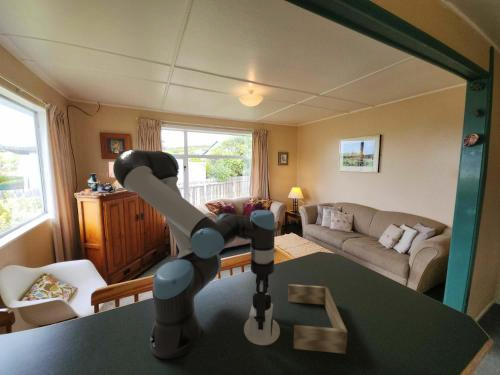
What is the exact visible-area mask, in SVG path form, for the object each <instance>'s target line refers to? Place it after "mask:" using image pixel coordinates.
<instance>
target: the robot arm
mask: <svg viewBox="0 0 500 375" xmlns="http://www.w3.org/2000/svg"><path fill="white" fill-rule="evenodd" d="M112 170H113V176H114V178H115V180H116V181H117V183H119V186H121V187H122V188H123V189H125V190H126V191H127V192H129V193H135V194H136V195H138V196H139V197H140V198H141V199H142V200H144V202H146V203H147V204H149V206H151V208H153V209H154V210H155V211H157V212H158V213H159V214H161V215H162V216H163V217H164V219H165V221H166V223H167V225H168V227H169V230H170V232H171V235H172V237H173V239H174V242H175V244H176V246H177V248H178V250H179V252H178V255H177V259H174V260H173V261H168V262H166V263H164V264H162V265H161V266H160V267H159V268H158V269H157V270H156V272H155V273H154V275H153V280H152V281H153V282H152V283H153V284H152V293H153V303H154V304H153V305H154V306H153V309H154V323H153V326H152V329H151V333H150V336H149V346H150V347H149V348H150V351H151V353H152V355H154V356H155V357H157V358H158V359H162V360H172V359H177V358H179V357H182V356H184V355H186V354H188V353H189V352H190V351H191V350H192V349H194V347H195V346H196V345H197V344H198V342H199V340H200V338H201V334H202V332H201V322H200V320H199V317H198V315H197V313H196V310H195V297H196V296H197V295H198V294H199V293H200V292H201V291H202V290H203V289H204V288H205V287H206V286H207V285H208V284H209V283H210V282H212V281H213V280H214V279H215V278H216V277H217V276H218V274H219V273H220V271H221V269H222V258H221V255H220V253H221V252H222V250H223V249H225V248H226V247H227V246H228V245H230V244H232V243H233V242H234V241H235V240H236V239H240V240H250V271H251V272H252V273H253V274H254V275H256V276H255V284H256V285H255V286H256V287H255V293H256V292H257V309H256V316H254V319H256V337H260V338H265V318H266V316H265V296H266V293H268V288H269V276H271V275H272V274H273V272H274V271H275V253H277V249H275V235H276V234H275V233H276V221H275V220H276V218H275V214H274V212H272V211H271V210H267V209H257V210H253V211H251V213H250V215H243V214H236V213H235V214H234V213H220V214H219V215H218V216H217V218H216V219H215V221H214V220H213V219H211V218H210V217H209V216H207V215H206V214H205V213H204V212H202V211H201V210H200V209H198V208H197V207H196V206H194V204H192V203H190V202H189V201H188V200H186V199H185V198H184V197H183V196H182V194H181V192H180V189H179V187H178V185H177V183H178V181H179V177H178V175H179V173H180V171H179V170H180V166H179V163H178V161H177V159H176V158H175V156H173V154H171V153H169V152H165V151H162V150H154V151H153V150H139V149H129V150H126V151H123V152H122V153H120V154H119V155H118V156H117V157H116V158H115V161H114V163H113V168H112Z"/></svg>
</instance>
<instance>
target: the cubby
mask: <svg viewBox="0 0 500 375" xmlns="http://www.w3.org/2000/svg"><path fill="white" fill-rule="evenodd" d="M287 293H288V297H287V298H288V303H300V304H313V305H324V308H325V310H326V313H327V315H328V318H329V321H330V324H331V326H332V327H326V326H325V327H324V326H323V327H322V326H313V325H312V326H311V325H303V324H302V325H300V324H299V325H298V324H294V325H293V349H295V350H305V351H313V352H315V351H316V352H322V353H323V352H324V353H325V352H326V353H337V354H343V355H344V354H345V355H346V354H347V345H348V344H347V342H348V330H347V328H346V325H345V324H344V322H343V319H342V317H341V314H340V312H339V311H338V310H339V309H338V307H337V305H336V303H335V300H334V299H333V297H332V295H331V292H330V290H329V287H328V286H323V285H322V286H321V285H307V284H306V285H305V284H291V283H290V284H289V283H288V292H287Z"/></svg>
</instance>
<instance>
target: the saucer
mask: <svg viewBox="0 0 500 375" xmlns="http://www.w3.org/2000/svg"><path fill="white" fill-rule="evenodd" d="M243 334H244V335H245V338H246V339H247V340H248V341H249V342H250V343H251V344H254V345H257V346H268V345H272V344H273V343H275V342H276V341H277V340H278V339H279V337H280V334H281V329H280V325H279V323H278V322H277V321H276V320H275V319H274V318H273V327H272V336H271V338H260V337H256V336H252V335H249V318H248V319H247V320H246V321H245V323H244V325H243Z"/></svg>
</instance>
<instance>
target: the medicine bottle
mask: <svg viewBox="0 0 500 375" xmlns="http://www.w3.org/2000/svg"><path fill="white" fill-rule="evenodd" d="M256 309H257V292H256V291H255V293H254V294H253V295H252V304H251V307H250V312H249V315H248V319H249V335H252V336H256V319H254V316H256ZM265 316H266V318H265V338H271V336H272V327H273V319H274V303H272V296H271V295H270V293H269V292H267V293H266V296H265Z"/></svg>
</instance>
